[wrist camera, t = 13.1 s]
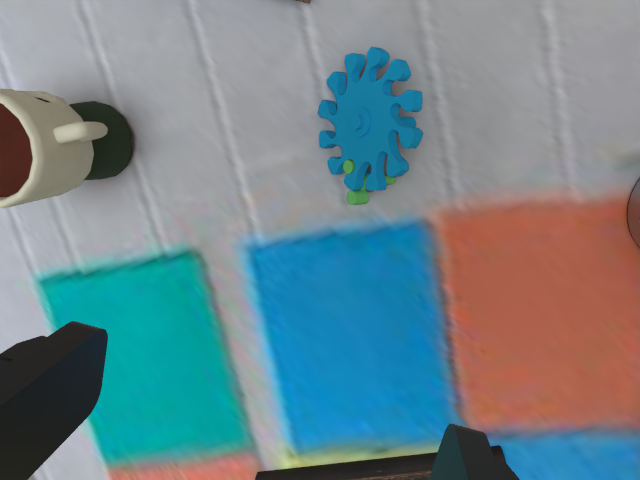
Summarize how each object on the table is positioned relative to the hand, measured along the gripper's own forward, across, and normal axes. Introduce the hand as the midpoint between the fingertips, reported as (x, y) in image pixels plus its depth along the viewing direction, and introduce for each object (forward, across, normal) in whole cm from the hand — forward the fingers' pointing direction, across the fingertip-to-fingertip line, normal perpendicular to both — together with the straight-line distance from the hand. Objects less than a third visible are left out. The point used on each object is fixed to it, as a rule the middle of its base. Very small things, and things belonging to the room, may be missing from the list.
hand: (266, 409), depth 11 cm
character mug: (+30, +21, 0) cm, 37 cm away
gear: (+30, 0, -6) cm, 31 cm away
